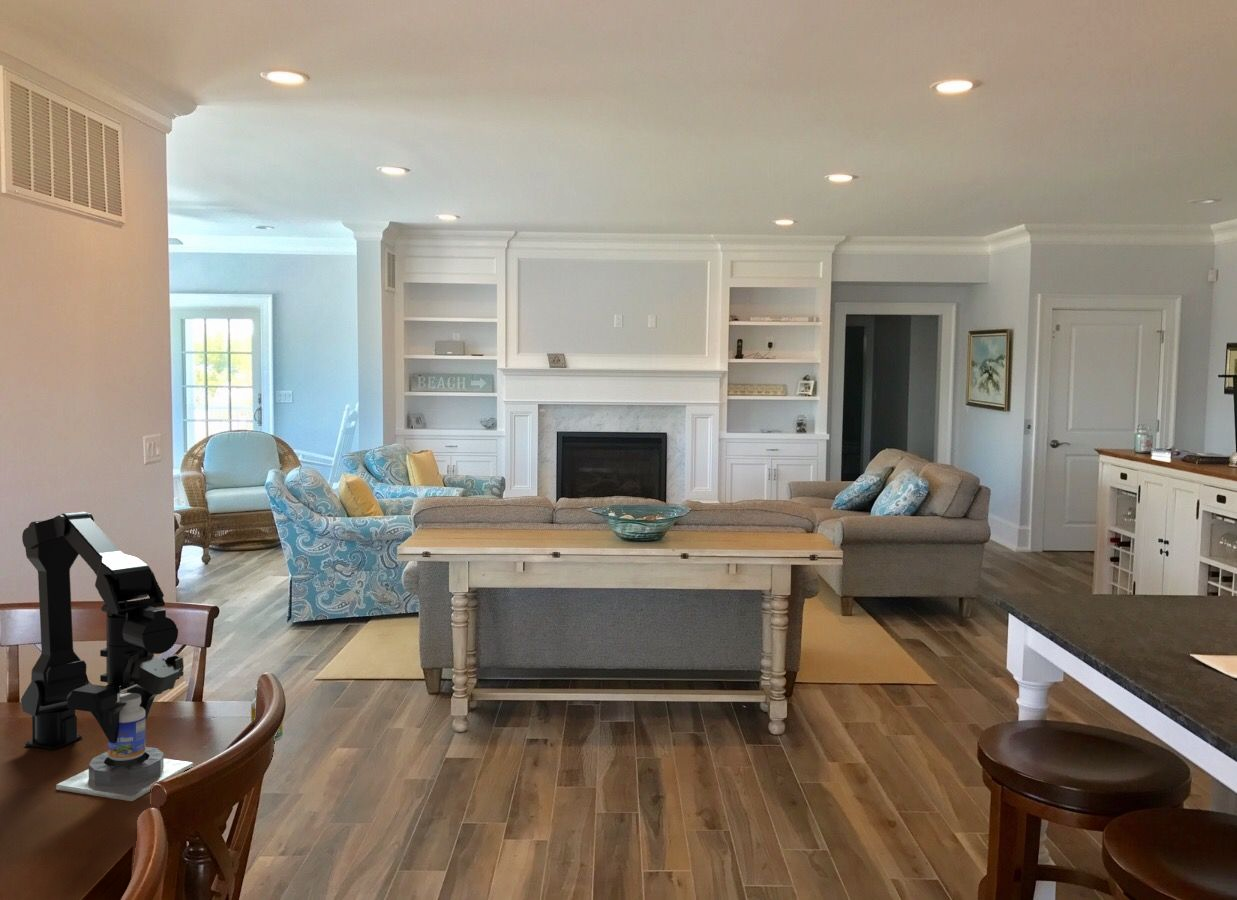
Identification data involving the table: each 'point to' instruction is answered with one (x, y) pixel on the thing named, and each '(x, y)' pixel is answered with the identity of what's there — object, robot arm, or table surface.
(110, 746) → the pill bottle
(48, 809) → the table surface
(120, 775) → the collar
